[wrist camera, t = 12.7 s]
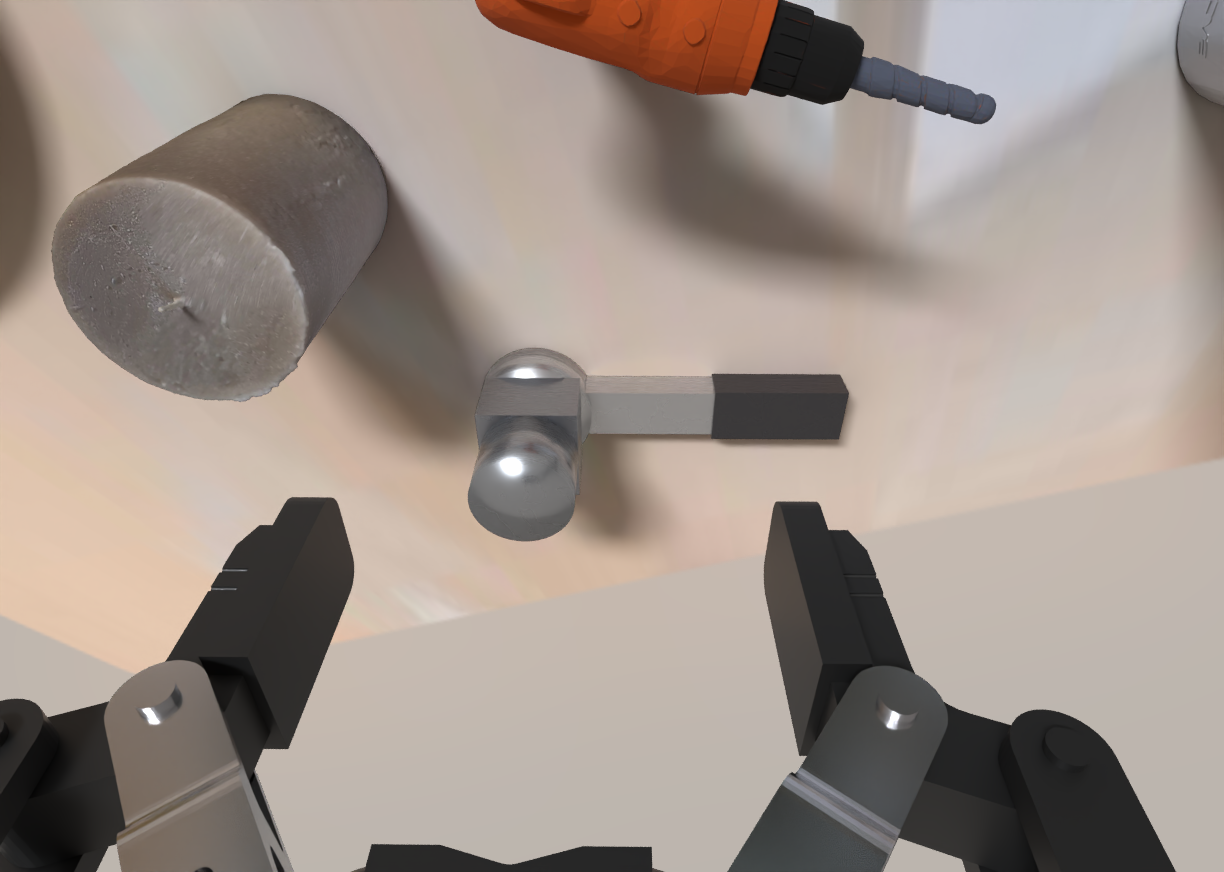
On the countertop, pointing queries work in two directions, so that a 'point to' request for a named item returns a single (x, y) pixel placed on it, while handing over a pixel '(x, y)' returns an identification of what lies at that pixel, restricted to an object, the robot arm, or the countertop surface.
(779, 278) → the countertop surface
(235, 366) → the pillar candle
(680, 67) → the toy drill
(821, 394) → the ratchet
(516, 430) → the cylinder on square block
